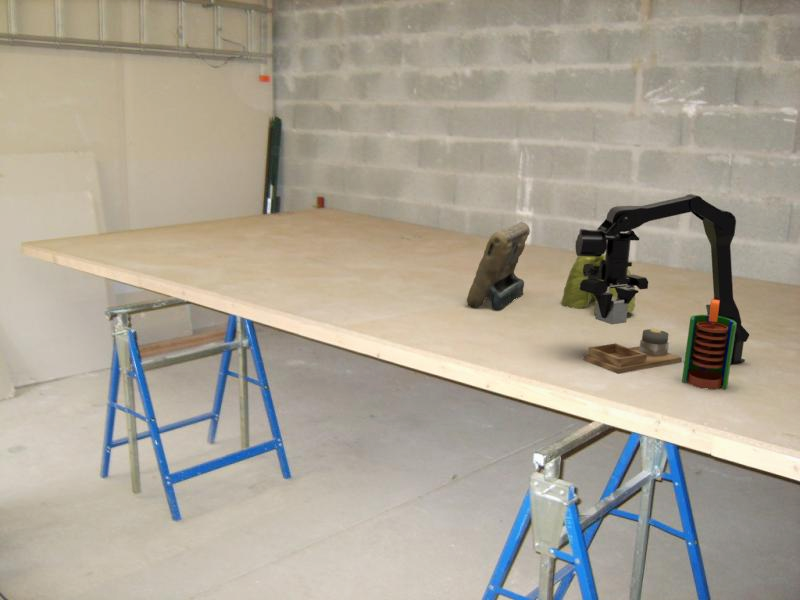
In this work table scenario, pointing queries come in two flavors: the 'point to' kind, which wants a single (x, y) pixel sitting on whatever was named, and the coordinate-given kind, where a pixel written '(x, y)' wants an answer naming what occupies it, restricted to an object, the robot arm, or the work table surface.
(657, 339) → the grey knob
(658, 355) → the wooden tray
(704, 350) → the motor
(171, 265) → the work table surface
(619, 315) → the stepped grey block
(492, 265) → the tablet
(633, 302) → the lungs
